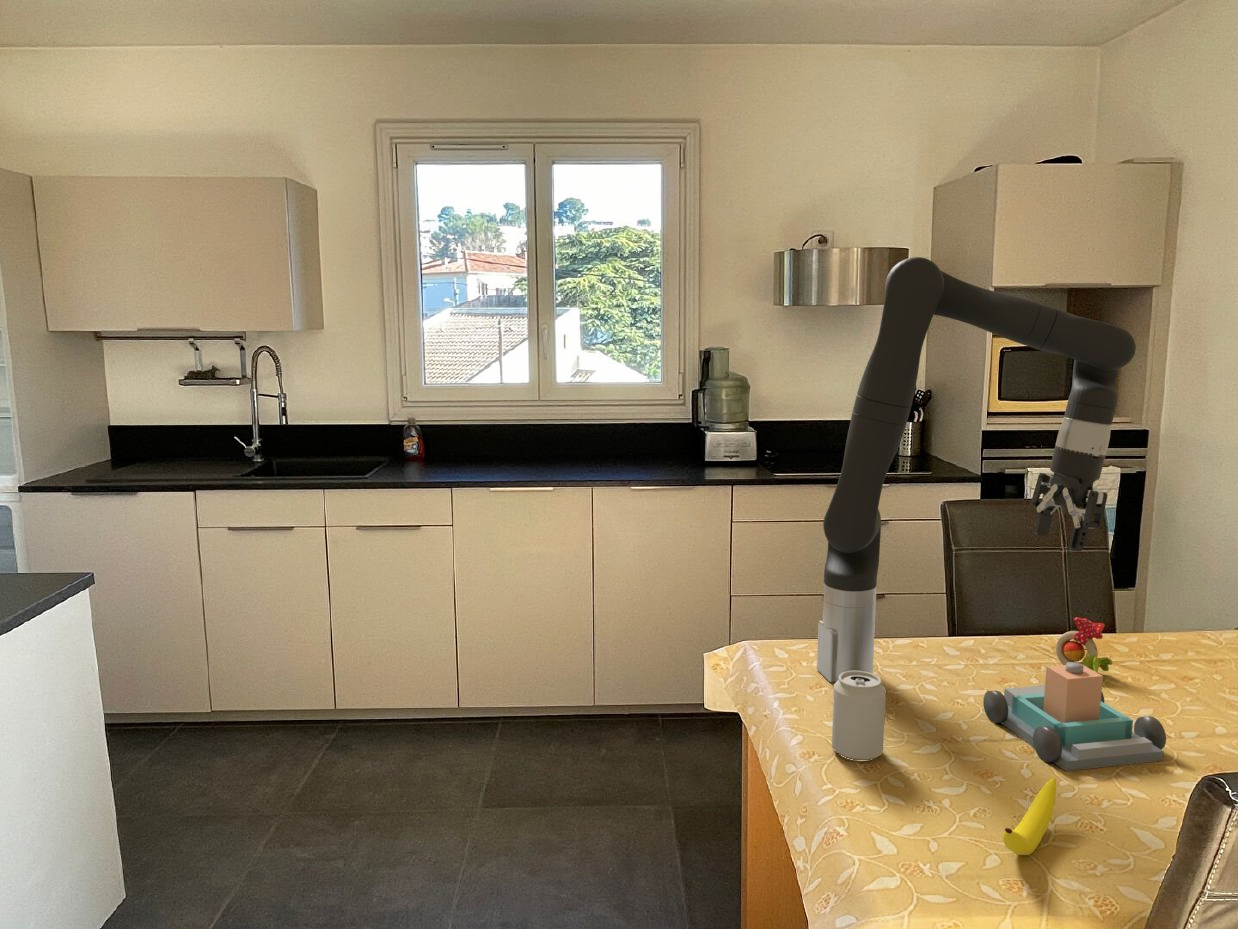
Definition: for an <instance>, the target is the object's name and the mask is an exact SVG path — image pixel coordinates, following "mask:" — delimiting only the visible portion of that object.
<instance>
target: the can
mask: <svg viewBox="0 0 1238 929" xmlns="http://www.w3.org/2000/svg"><path fill="white" fill-rule="evenodd" d="M838 678H839V680H838V681H837V682H834V684H833V701H832V726H831V729H832V730H831V746H832V749H833V750H834V751H835V752H836V753H837V754H838V753H839V754H840V755H842V756H844V757H846V758H849V759H853V760H871V759H874V758H875V759H876V758H878V757H879V756H880V755H882V753H883V752H884V739H885V737H884V736H885V735H884V734H885V719H886V718H885V715H886V714H885V713H886V697H887V696H886V695H887V694H886V693H887V691H886V688H885V687H884V686H883V684H882V682H883V681H882V679H881V678H880V677H879V675H877V674H874V673H873V674H872V673H869V672H864V671H847V672H843V673H841V674H840V675H839V676H838ZM839 754H838V755H839ZM840 755H839V756H840ZM842 756H841V757H842ZM875 759H874V760H875Z"/></svg>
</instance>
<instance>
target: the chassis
mask: <svg viewBox="0 0 1238 929" xmlns="http://www.w3.org/2000/svg"><path fill="white" fill-rule="evenodd" d="M1003 692H1004V694H1003V693H1002V692H1001V691H999V690H988V691H986V692H985V693H984V696H983V710H984V712H985V714H986V717H987V719H988V720H989V721H990V722H992V723H994V724H997V723H998V724H999V723H1000V724H1002V725H1003V726H1005V728H1007V729H1008V730H1010V731H1011V732H1013V734H1015V735H1016V736H1018V737H1019V738H1021V739H1022V740H1023V741H1024V742H1026V743H1027V744H1028V745H1030V746H1031V747H1032V748H1034V750H1035V753H1036V754H1037V756H1038V757H1039V759H1041V760H1042V761H1043V762H1046V763H1054V764H1055V765H1056V766H1058V767H1059V768H1060V769H1062V770H1063V771H1064V772H1068V771H1078V770H1080V771H1081V770H1088V769H1097V768H1106V767H1107V768H1108V767H1115V766H1116V767H1117V766H1124V765H1133V764H1134V765H1136V764H1143V763H1152V762H1162V761H1163V760H1164V750H1163V749H1164V748H1165V746H1166V742H1167V734H1166V730H1165V728H1164V726H1163V724H1162V723H1161V722H1160V721H1159V720H1158V719H1157V718H1156V717H1154V716H1152V715H1151V716H1150V715H1149V716H1148V715H1146V716H1140V717H1138V718H1136V720H1135V722H1134V720H1133V719H1131V718H1130V717H1129V716H1126V715H1125V714H1123V713H1122V712H1120V711H1118V710H1117V709H1115V708H1113V707H1112V706H1110V705H1108V704H1107V703H1105V696H1104V694H1103V691H1102V692H1101V704H1100V715H1099V720H1089V721H1079V722H1069V723H1060V722H1059V721H1057V720H1056V719H1054V718H1053V717H1051V716H1050V715H1048V714H1047V713H1045V712H1044V711H1043V707H1044V694H1045V684H1042V685H1032V686H1031V685H1029V686H1020V687H1010V688H1009V687H1008V688H1004V691H1003ZM1133 724H1134V725H1133Z"/></svg>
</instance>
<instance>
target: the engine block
mask: <svg viewBox="0 0 1238 929" xmlns="http://www.w3.org/2000/svg"><path fill="white" fill-rule="evenodd" d="M1079 663H1080V662H1078V663H1075V662H1068V663H1066V665H1062V664H1060V665H1050V666H1045V667H1046V669H1045V682H1044V685H1045V694H1044V707H1043V711H1044V712H1045V713H1047V714H1048V715H1050V716H1051V717H1053V718H1054V719H1056V720H1057V721H1059V722H1060V723H1069V722H1079V721H1089V720H1099V715H1100V704H1101V692H1102V693H1103V691H1102V690H1103V681H1104V680H1103V678H1104V675H1103V674H1100V673H1099V672H1098V673H1097V672H1095V671H1093V670H1091V669H1089V668H1087V667H1086V666H1084V665H1082V664H1079Z"/></svg>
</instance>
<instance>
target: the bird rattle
mask: <svg viewBox="0 0 1238 929" xmlns="http://www.w3.org/2000/svg"><path fill="white" fill-rule="evenodd" d="M1073 621H1074V624H1075V625H1076V628H1077V629H1078V630H1069V631H1067V632H1065V633H1063V634H1062V635H1060V636H1059V637H1058V639H1057V641H1056V643H1055V654H1056V656H1057V658H1058V660H1059V661H1060V663H1061V665H1066V663H1068V662H1075V663H1079V664H1082V665H1084V666H1086V667H1087V668H1089V669H1091V670H1093V671H1095V672H1097V673H1098V674H1099V668H1100V669H1101V670H1102V671H1103V672H1109V671H1110V670H1109V668H1110V667H1109V665H1112V664H1113V659H1111V658H1109V657H1107V656H1103V657H1098V656H1099V655H1098V654H1099V653H1098V652H1099V651H1098V647H1097V645H1096V643H1095V641H1094V638H1095V639H1096V640H1101V639H1103V637H1104V636H1103V633H1102V632H1103V630H1104V628H1105V623H1102V622H1092V621H1091V620H1089V619H1088V618H1082V617H1077V616H1076V617H1074V618H1073ZM1081 660H1082V661H1081Z"/></svg>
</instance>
